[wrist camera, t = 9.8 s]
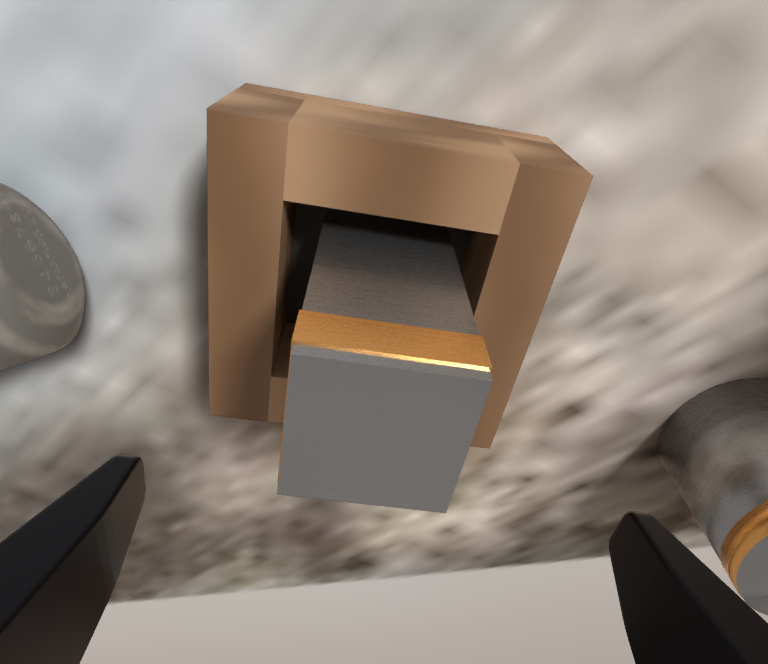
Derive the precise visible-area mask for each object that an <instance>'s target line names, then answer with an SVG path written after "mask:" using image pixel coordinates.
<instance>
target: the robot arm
mask: <svg viewBox="0 0 768 664" xmlns="http://www.w3.org/2000/svg"><path fill="white" fill-rule="evenodd" d="M145 491H146V487H145V477H144V468H143V461H142V459H141V458H140V457H137V456H128V455H117V456H114V457H113V458H111V459H110V460H109V461H107V462H106V463H105V464H103V465H102V466H101V467H99V468H98V469H97V470H95V471H94V472H93V473H91V474H90V475H89V476H88V477H86V478H85V479H84V480H82V481H81V482H80V483H78V484H77V485H76V486H74V487H73V488H72V489H70V490H69V491H68V492H66V493H65V494H64V495H62V496H61V497H60V498H59V499H57V500H56V501H55V502H53V503H52V504H51V505H49V506H48V507H47V508H45V509H44V510H43V511H41V512H40V513H39V514H37V515H36V516H35V517H34V518H32V519H31V520H30V521H28V522H27V523H26V524H24V525H23V526H22V527H20V528H19V529H18V530H16V531H15V532H14V533H12V534H11V535H10V536H8V537H7V538H6V539H5V540H3V541H2V542H1V543H0V664H79V663H80V661H81V659H82V657H83V655H84V653H85V650H86V648H87V646H88V644H89V642H90V640H91V637H92V635H93V633H94V631H95V629H96V627H97V625H98V622H99V620H100V618H101V616H102V614H103V611H104V609H105V607H106V605H107V603H108V601H109V598H110V596H111V594H112V592H113V589H114V587H115V584H116V582H117V579H118V576H119V573H120V570H121V567H122V564H123V561H124V558H125V555H126V552H127V549H128V546H129V544H130V541H131V538H132V535H133V532H134V529H135V526H136V523H137V520H138V517H139V514H140V511H141V508H142V505H143V502H144V498H145ZM609 552H610V557H611V562H612V567H613V572H614V576H615V581H616V586H617V591H618V596H619V601H620V606H621V611H622V616H623V620H624V625H625V629H626V633H627V636H628V640H629V643H630V647H631V650H632V653H633V657H634V660H635V663H636V664H768V623H767V622H766V621H765V620H764V619H763V618H762V617H760V616H759V615H758V614H757V613H756V612H755V611H754V610H753V609H752V608H751V607H750V606H749V605H748V604H747V603H745V602H744V601H743V600H742V599H741V598H740V597H739V596H738V595H737V594H736V593H735V592H734V591H733V590H731V589H730V588H729V587H728V586H727V585H726V584H725V583H724V582H723V581H721V579H720V578H718V576H716V575H715V574H714V573H713V572H712V571H711V570H710V569H709V568H708V567H707V566H706V565H705V564H704V563H702V562H701V561H700V560H699V559H698V558H697V557H696V556H695V555H694V554H693V553H692V552H691V551H690V550H689V549H687V548H686V547H685V546H684V545H683V544H682V543H681V542H680V541H679V540H678V539H677V538H676V537H675V536H674V535H672V534H671V533H670V532H669V531H668V530H667V529H666V528H665V527H664V526H663V525H662V524H661V523H660V522H659V521H657V520H656V519H655V518H654V517H653V516H652V515H650V514H647V513H641V512H632V511H631V512H627V513H626V514H625V515H624V516H623V518H622V519H621V521H620V522H619V524H618V526H617V527H616V529H615V530H614V532H613V534H612V535H611V537H610V541H609Z"/></svg>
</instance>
